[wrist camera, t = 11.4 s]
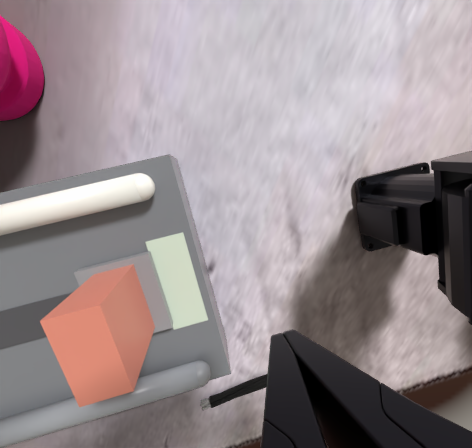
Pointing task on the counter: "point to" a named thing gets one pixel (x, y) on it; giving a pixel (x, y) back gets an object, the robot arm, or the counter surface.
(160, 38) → the counter surface
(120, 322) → the lever
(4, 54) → the pepper mill
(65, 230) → the box
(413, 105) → the counter surface
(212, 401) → the black thin rod
